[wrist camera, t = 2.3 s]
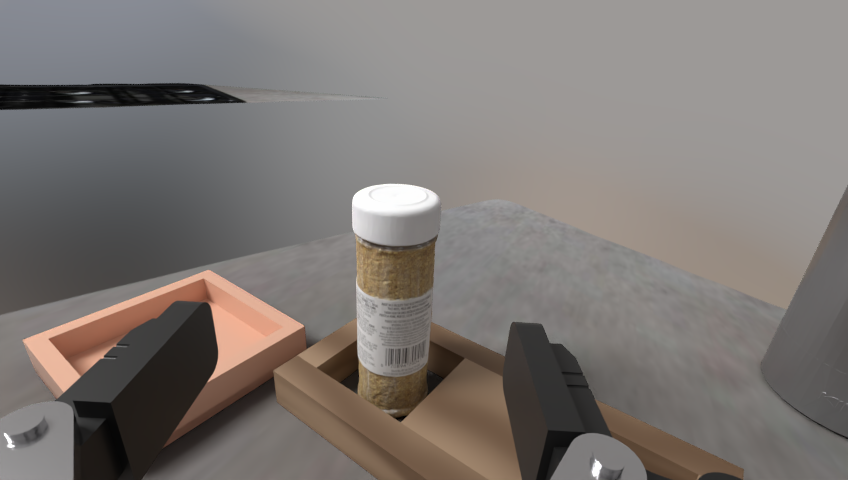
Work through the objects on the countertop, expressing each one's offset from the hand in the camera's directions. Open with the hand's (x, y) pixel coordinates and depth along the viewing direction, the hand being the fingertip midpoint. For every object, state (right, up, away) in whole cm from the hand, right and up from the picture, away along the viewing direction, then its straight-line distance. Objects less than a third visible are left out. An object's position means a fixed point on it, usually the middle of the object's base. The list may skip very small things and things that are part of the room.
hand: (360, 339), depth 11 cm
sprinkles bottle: (0, -7, +16) cm, 18 cm away
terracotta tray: (-15, -6, +17) cm, 24 cm away
